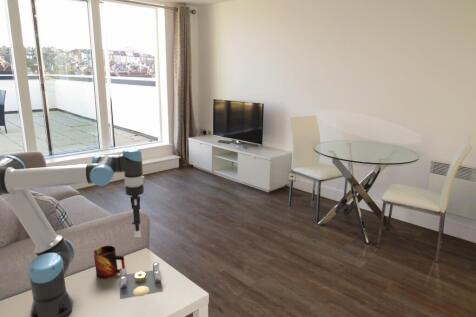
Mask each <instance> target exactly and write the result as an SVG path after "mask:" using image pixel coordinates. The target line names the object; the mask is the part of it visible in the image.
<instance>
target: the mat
mask: <svg viewBox="0 0 476 317" xmlns="http://www.w3.org/2000/svg"><path fill="white" fill-rule="evenodd" d="M142 272H143V273H146V279H145V281H143V282H140V283H139V282H136V281H135V275H136V273H137V272H135V273H129V274H128V273H127V288H126V289H120V288H119V300H120V299H121V300H122V299H129V298H134V297H142V296H146V295H150V294H157V293H161V292H163V291H164V290H163V285H162V281H161V282H160V283H154V274H153V269H152V270H147V271H142Z"/></svg>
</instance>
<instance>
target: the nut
mask: <svg viewBox="0 0 476 317" xmlns="http://www.w3.org/2000/svg"><path fill="white" fill-rule="evenodd" d="M143 272H144V271H139V272H135V273H136V275H135V281H136V282H139V283H140V282H143V281H145V279H146V273H143Z"/></svg>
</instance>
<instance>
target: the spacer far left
mask: <svg viewBox="0 0 476 317" xmlns="http://www.w3.org/2000/svg"><path fill="white" fill-rule="evenodd" d="M119 269H120V273H119V278H120V277H121V276H126V278H127V274H128V273H127V267H126V266H125V267H122V266H121V267H120V268H119Z"/></svg>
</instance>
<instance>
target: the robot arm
mask: <svg viewBox="0 0 476 317" xmlns="http://www.w3.org/2000/svg"><path fill="white" fill-rule="evenodd" d="M115 173H117V174H118V173H123V174H124V185H125V187H124V188H125V190H124V191H125V194H126V195H127V196H130V197H129V198H130V203H131V205H130V206H131V209H132V219H133V220H132V221H133V222H131V225H133V233H134V234H133V236H134V238H142V231H141V230H142V227H141V216H140V209H141V204H140V203H141V195H142V194H144V192H145V189H144V187H145V186H144V179H145V176H144V175H143V174H144V171H143V157H142V151H141V150H140V148H136V147H134V148H125V149H124V150H123V151H122V154H100V155H99V154H97V155H93V157H92V160H91V163H82V164H71V165H70V164H69V165H68V164H67V165H57V166H55V165H54V166H46V167H45V166H43V167H42V166H41V167H31V168H26V165H25V163H24V161H23V160H22V159H20V158H18V157H17V156H14V155H9V154H6V155H0V197H1V198H4V199H5V200H6V202H7V203H8V205H9V207H10V208H11V210H12V211H13V213H14V214H15V217H16V218H17V220H18V221H19V222H20V223H21V225H22V226H23V229H24V230H25V232H26V233H27V234H28V236H29V237H30V239H31V241H32V242H33V244H34V245H35V249H34V253H35V255H36V257H34V259H33V260H32V261H31V262H29V265H28V277H29V283H30V287H31V293H32V299H33V300H32V305H31V307H30V308H31V309H30V312H29V313H30V314H29V315H30V317H68V316H69V315H70V314H71V312H72V311H73V309H74V308H73V307H74V302H73V300H72V298H71V296H70V295H69V293H68V291H67V287H66V286H67V285H66V279H65V278H66V277H65V275H66V274H67V272H68V269H69V267H70V265H71V263H72V262H73V260H74V257H75V247H74V244H73V243H72V242H71V241H70V240H69V239H65V238H64V237H63V236H62V235H61V234H57V233H56V231H55V230H54V228H53V227H52V225H51V223H50V222H49V220H48V219H47V217H46V215H45V213H44V211H43V210H42V209H41V207H40V205H39V204H38V202H37V201H36V198H35V197H34V195H33V194H32V193H31V191H30V190H35V189H46V188H55V187H56V188H57V187H68V186H79V185H89V184H93V185H96V186H99V187H102V186H106V185H108V184H109V183H110V181H111V180H112V179H113V177H114V174H115Z"/></svg>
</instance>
